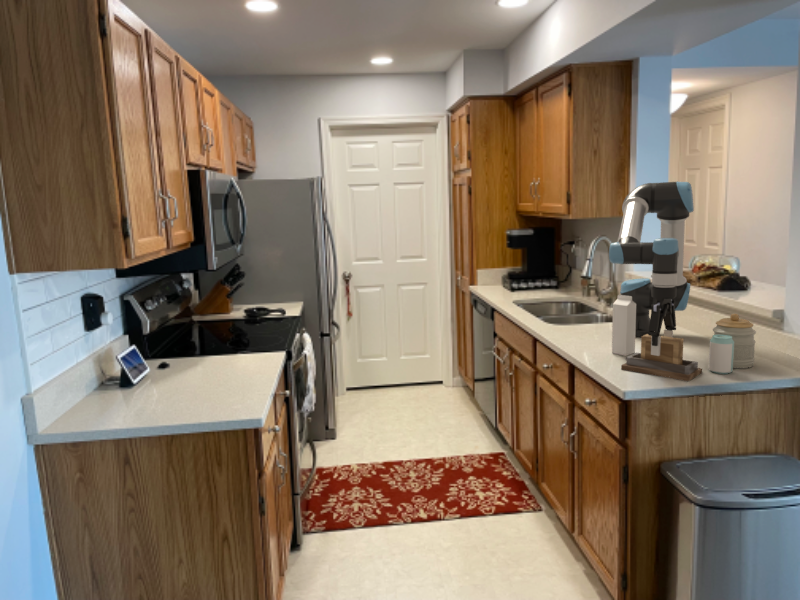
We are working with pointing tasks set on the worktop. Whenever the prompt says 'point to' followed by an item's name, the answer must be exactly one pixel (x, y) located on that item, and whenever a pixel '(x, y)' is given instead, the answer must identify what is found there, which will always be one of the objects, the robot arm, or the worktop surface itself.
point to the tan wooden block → (663, 349)
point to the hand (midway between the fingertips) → (661, 352)
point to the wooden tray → (662, 368)
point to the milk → (624, 326)
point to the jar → (738, 339)
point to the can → (721, 354)
